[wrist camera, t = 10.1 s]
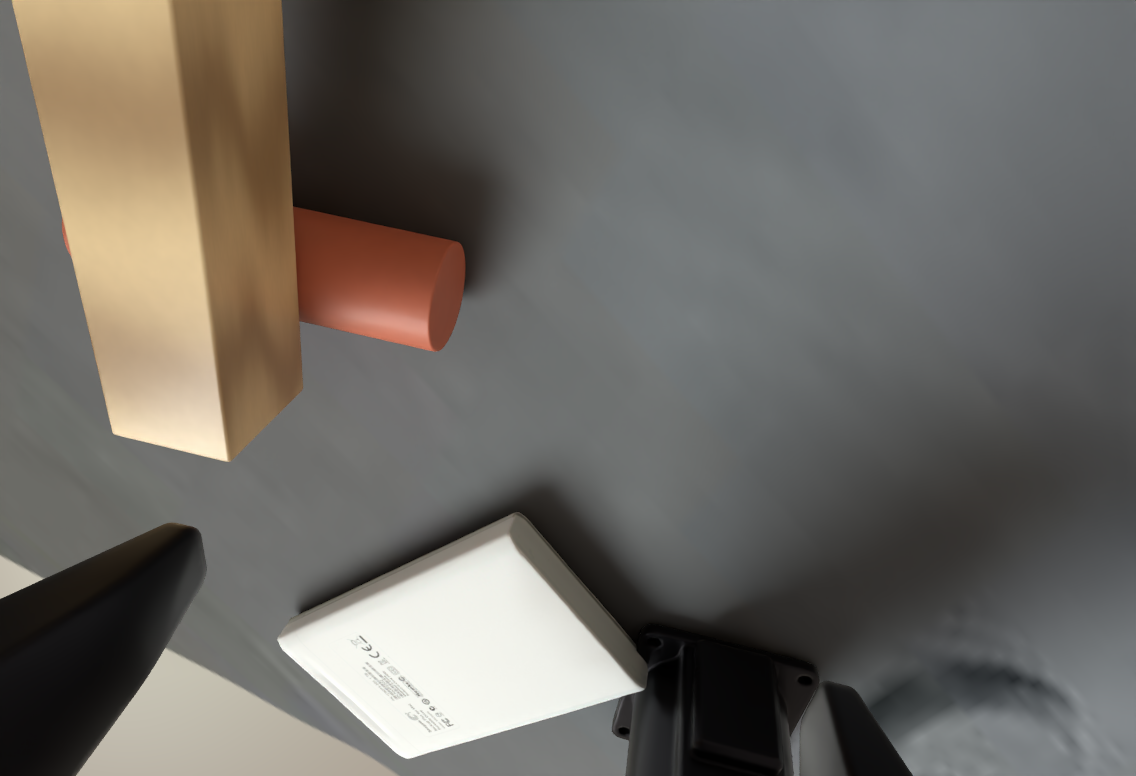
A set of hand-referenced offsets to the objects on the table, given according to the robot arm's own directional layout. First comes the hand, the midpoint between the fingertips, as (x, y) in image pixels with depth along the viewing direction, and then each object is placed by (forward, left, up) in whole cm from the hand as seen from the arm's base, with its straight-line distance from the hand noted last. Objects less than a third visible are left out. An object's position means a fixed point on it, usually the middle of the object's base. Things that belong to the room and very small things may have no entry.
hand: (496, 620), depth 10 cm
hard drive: (-15, +3, -12) cm, 19 cm away
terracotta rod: (0, +9, -12) cm, 15 cm away
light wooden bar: (+4, +9, -9) cm, 13 cm away
